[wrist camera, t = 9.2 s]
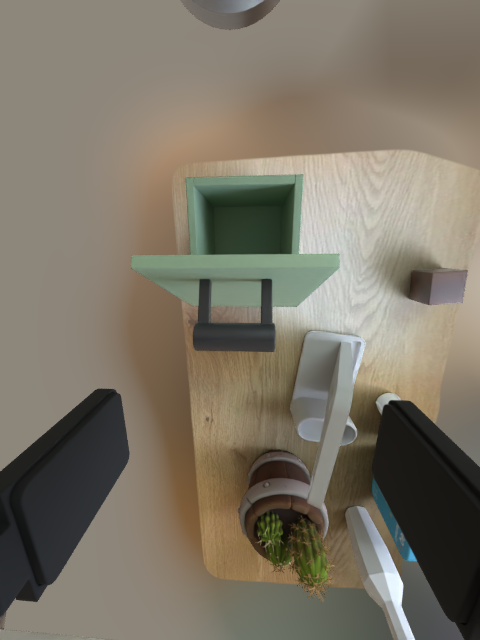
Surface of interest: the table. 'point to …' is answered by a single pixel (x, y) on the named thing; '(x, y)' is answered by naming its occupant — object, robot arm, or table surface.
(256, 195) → the box
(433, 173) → the table surface
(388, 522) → the data package
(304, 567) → the flowerpot
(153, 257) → the green box lid
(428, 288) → the block
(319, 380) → the phone holder
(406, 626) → the low poly bottle
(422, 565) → the robot arm
